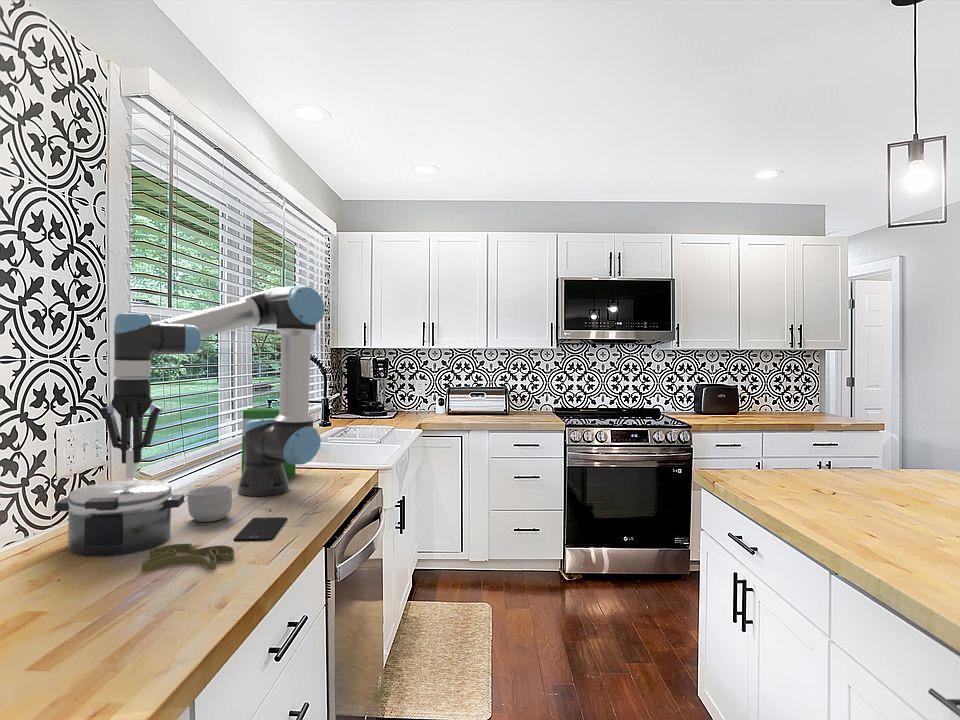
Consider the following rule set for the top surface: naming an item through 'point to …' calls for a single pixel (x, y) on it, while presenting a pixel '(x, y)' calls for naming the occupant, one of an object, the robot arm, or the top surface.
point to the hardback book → (259, 415)
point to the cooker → (119, 526)
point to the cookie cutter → (187, 556)
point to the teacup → (210, 502)
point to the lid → (118, 493)
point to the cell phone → (261, 529)
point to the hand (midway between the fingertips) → (131, 476)
